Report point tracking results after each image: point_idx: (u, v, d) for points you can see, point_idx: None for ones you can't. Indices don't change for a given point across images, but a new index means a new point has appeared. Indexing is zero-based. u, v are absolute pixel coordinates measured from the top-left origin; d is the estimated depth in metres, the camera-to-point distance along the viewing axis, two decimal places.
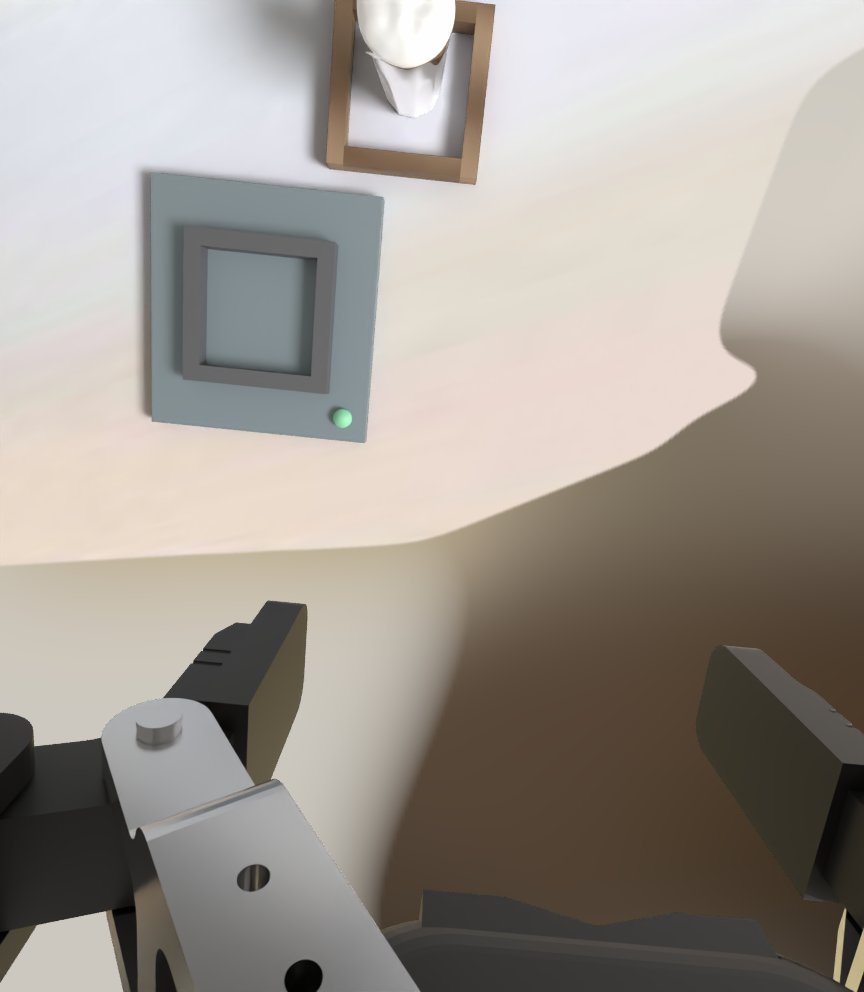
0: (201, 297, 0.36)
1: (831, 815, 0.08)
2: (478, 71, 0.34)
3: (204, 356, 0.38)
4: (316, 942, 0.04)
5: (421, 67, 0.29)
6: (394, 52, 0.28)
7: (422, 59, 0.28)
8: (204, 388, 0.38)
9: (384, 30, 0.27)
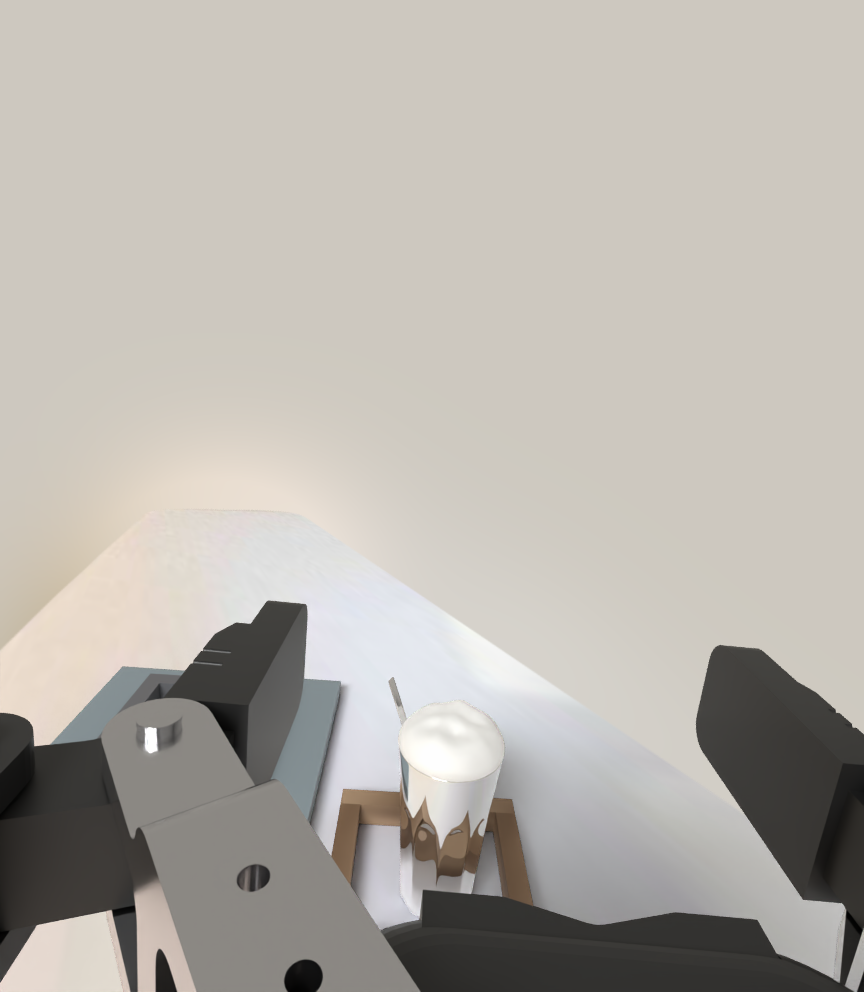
0: None
1: (831, 815, 0.08)
2: None
3: None
4: (316, 942, 0.04)
5: (402, 763, 0.24)
6: (407, 723, 0.25)
7: (405, 749, 0.24)
8: None
9: (424, 712, 0.26)
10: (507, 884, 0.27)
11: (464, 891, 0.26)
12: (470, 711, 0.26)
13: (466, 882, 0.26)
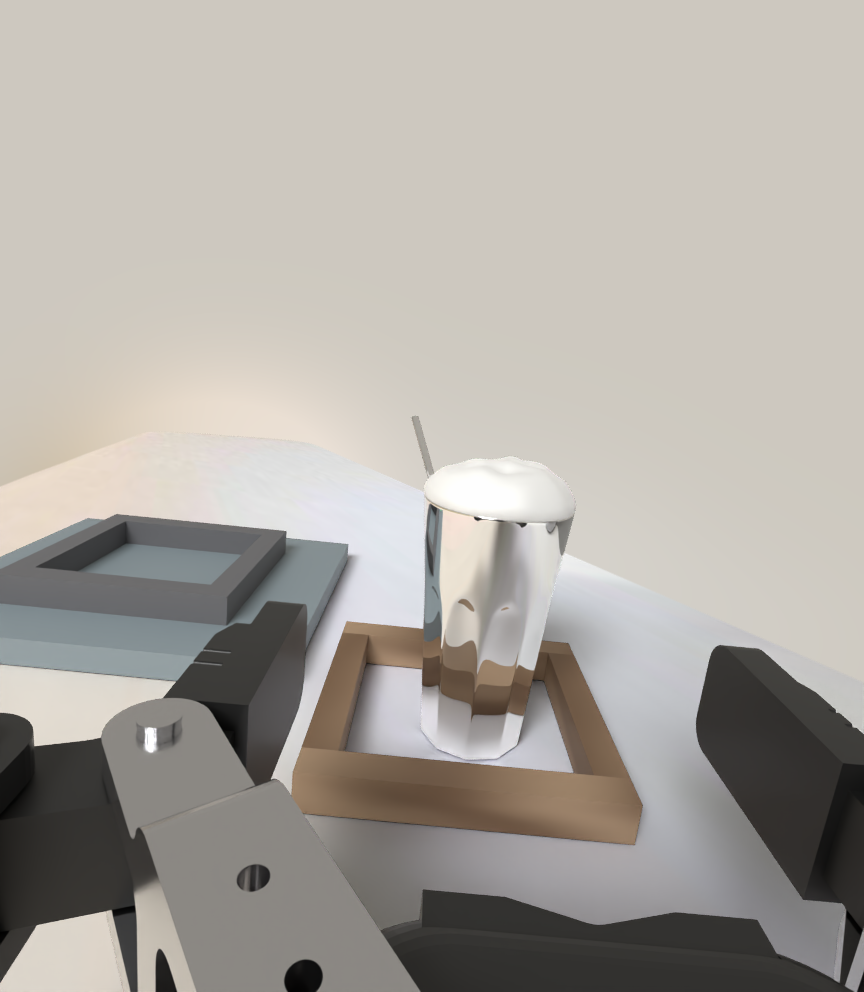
0: (204, 533, 0.30)
1: (831, 815, 0.08)
2: (509, 778, 0.16)
3: (135, 537, 0.31)
4: (316, 942, 0.04)
5: (430, 513, 0.17)
6: None
7: (434, 490, 0.17)
8: None
9: None
10: (572, 716, 0.19)
11: (513, 716, 0.18)
12: (525, 461, 0.18)
13: (516, 702, 0.18)
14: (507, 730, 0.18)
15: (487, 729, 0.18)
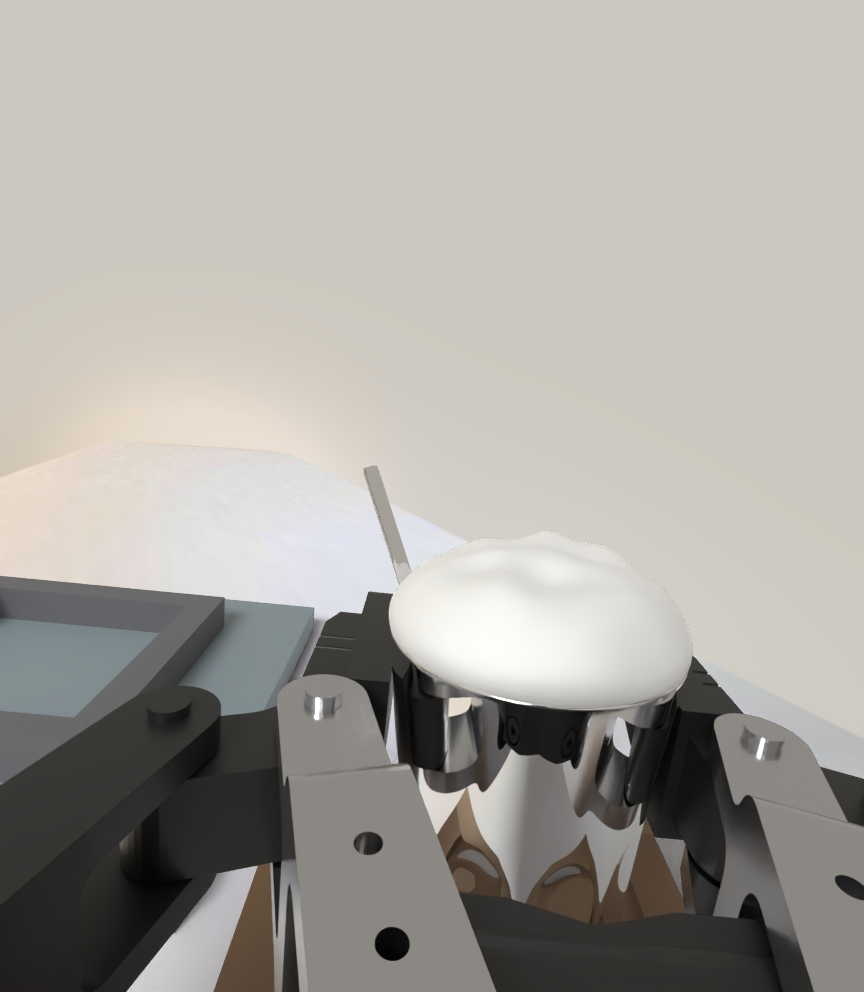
0: (106, 604, 0.22)
1: (676, 759, 0.09)
2: None
3: (10, 609, 0.22)
4: (410, 916, 0.04)
5: (401, 669, 0.08)
6: (412, 573, 0.09)
7: (406, 626, 0.08)
8: None
9: (458, 551, 0.10)
10: None
11: None
12: (580, 544, 0.10)
13: None
14: None
15: None
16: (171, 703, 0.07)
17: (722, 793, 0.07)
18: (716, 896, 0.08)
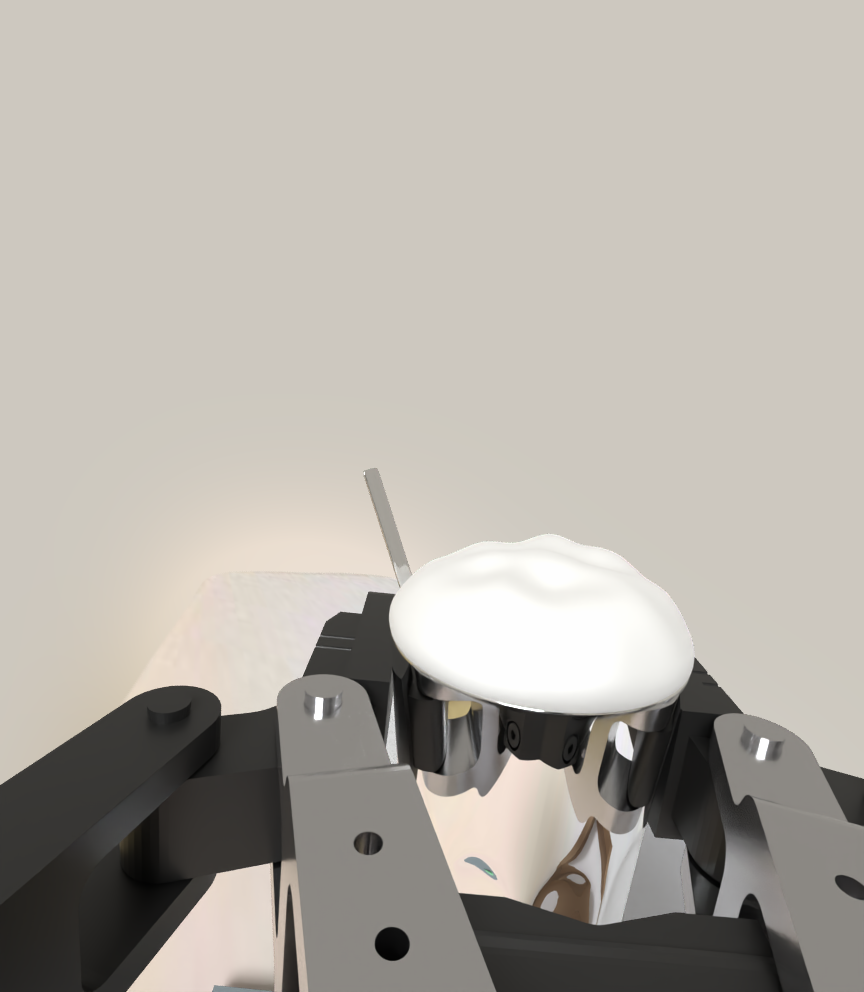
0: None
1: (676, 759, 0.09)
2: None
3: None
4: (410, 916, 0.04)
5: (401, 673, 0.08)
6: (413, 576, 0.09)
7: (407, 630, 0.08)
8: None
9: (458, 554, 0.10)
10: None
11: None
12: (581, 548, 0.10)
13: None
14: None
15: None
16: (171, 703, 0.07)
17: (722, 793, 0.07)
18: (716, 896, 0.08)
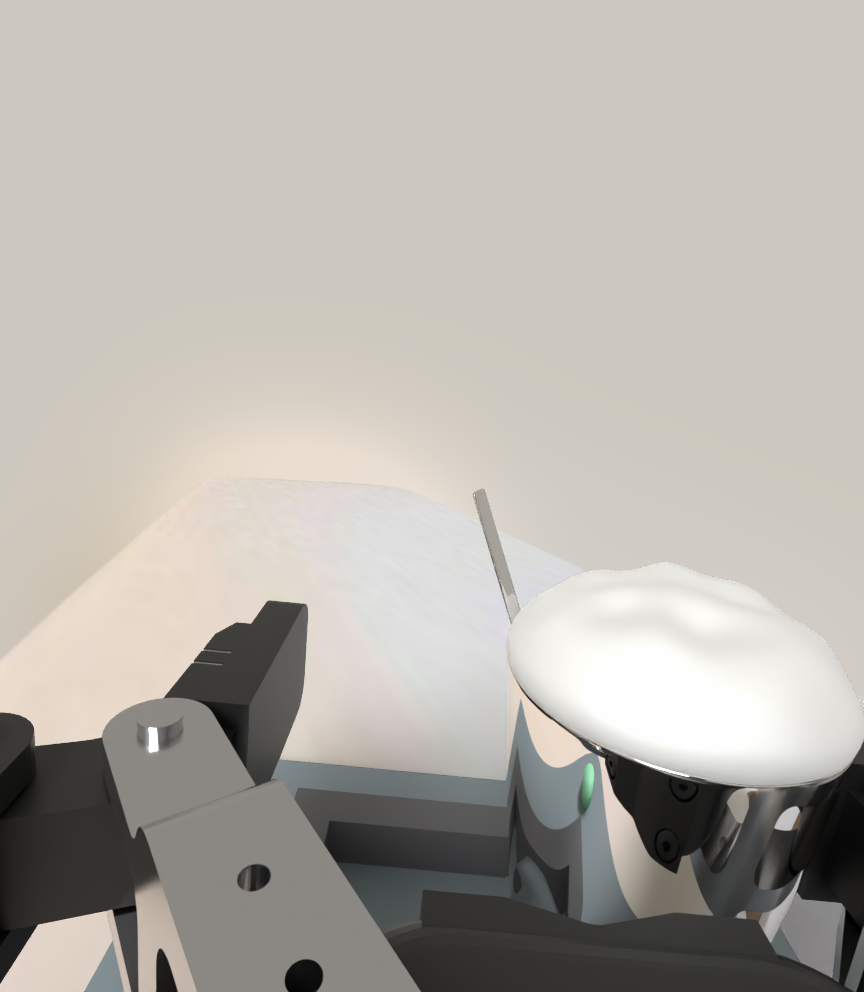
0: (492, 844, 0.15)
1: None
2: None
3: (347, 850, 0.15)
4: (316, 942, 0.04)
5: (532, 724, 0.08)
6: (531, 610, 0.09)
7: (543, 678, 0.07)
8: None
9: (575, 585, 0.09)
10: None
11: None
12: (712, 581, 0.09)
13: None
14: None
15: None
16: None
17: None
18: None
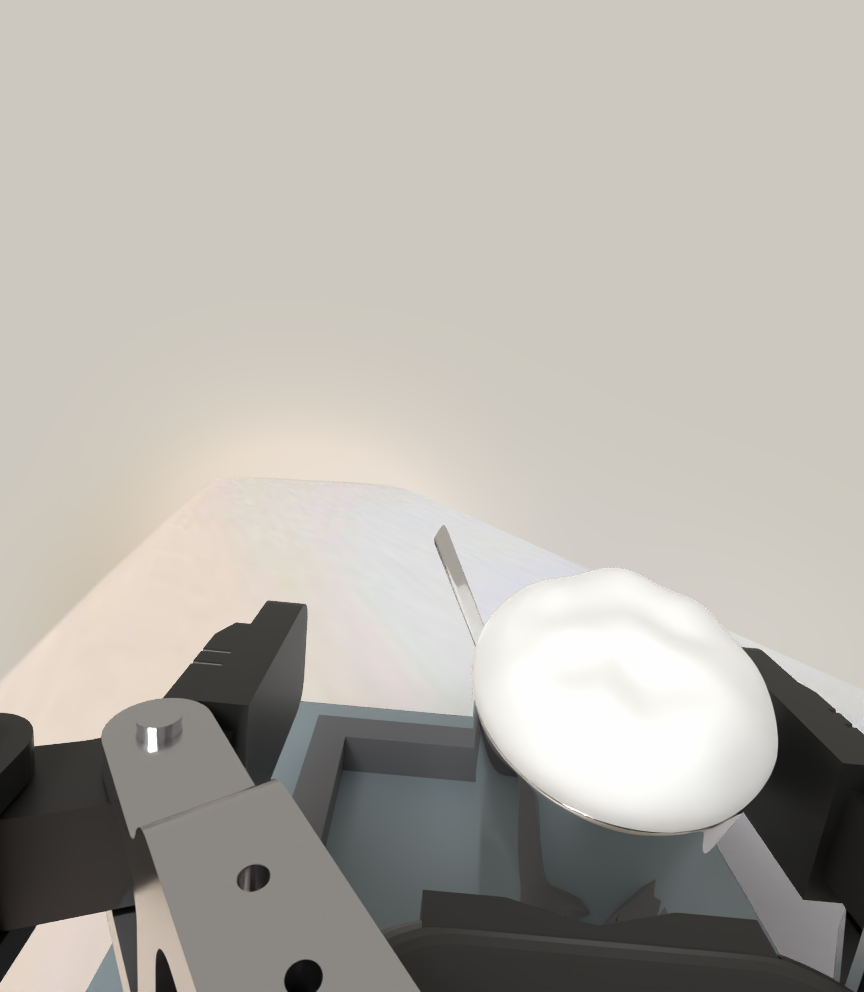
0: None
1: (831, 815, 0.08)
2: None
3: (359, 761, 0.18)
4: (315, 942, 0.04)
5: (494, 758, 0.09)
6: (493, 646, 0.09)
7: (503, 732, 0.08)
8: (294, 764, 0.19)
9: (534, 611, 0.10)
10: None
11: None
12: (662, 601, 0.09)
13: None
14: None
15: None
16: None
17: None
18: None
